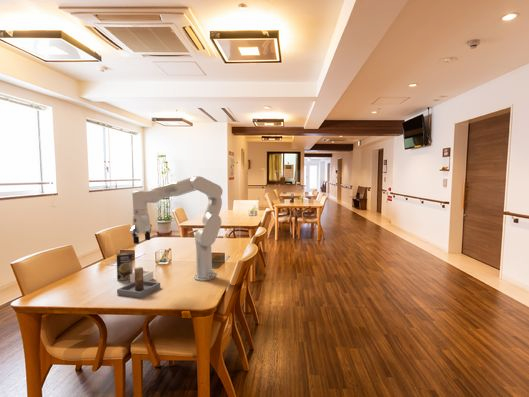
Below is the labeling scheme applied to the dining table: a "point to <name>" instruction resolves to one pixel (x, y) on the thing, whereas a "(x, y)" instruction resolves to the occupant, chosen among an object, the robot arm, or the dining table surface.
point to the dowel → (139, 279)
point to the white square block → (146, 276)
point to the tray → (131, 292)
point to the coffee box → (124, 266)
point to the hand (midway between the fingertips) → (142, 241)
